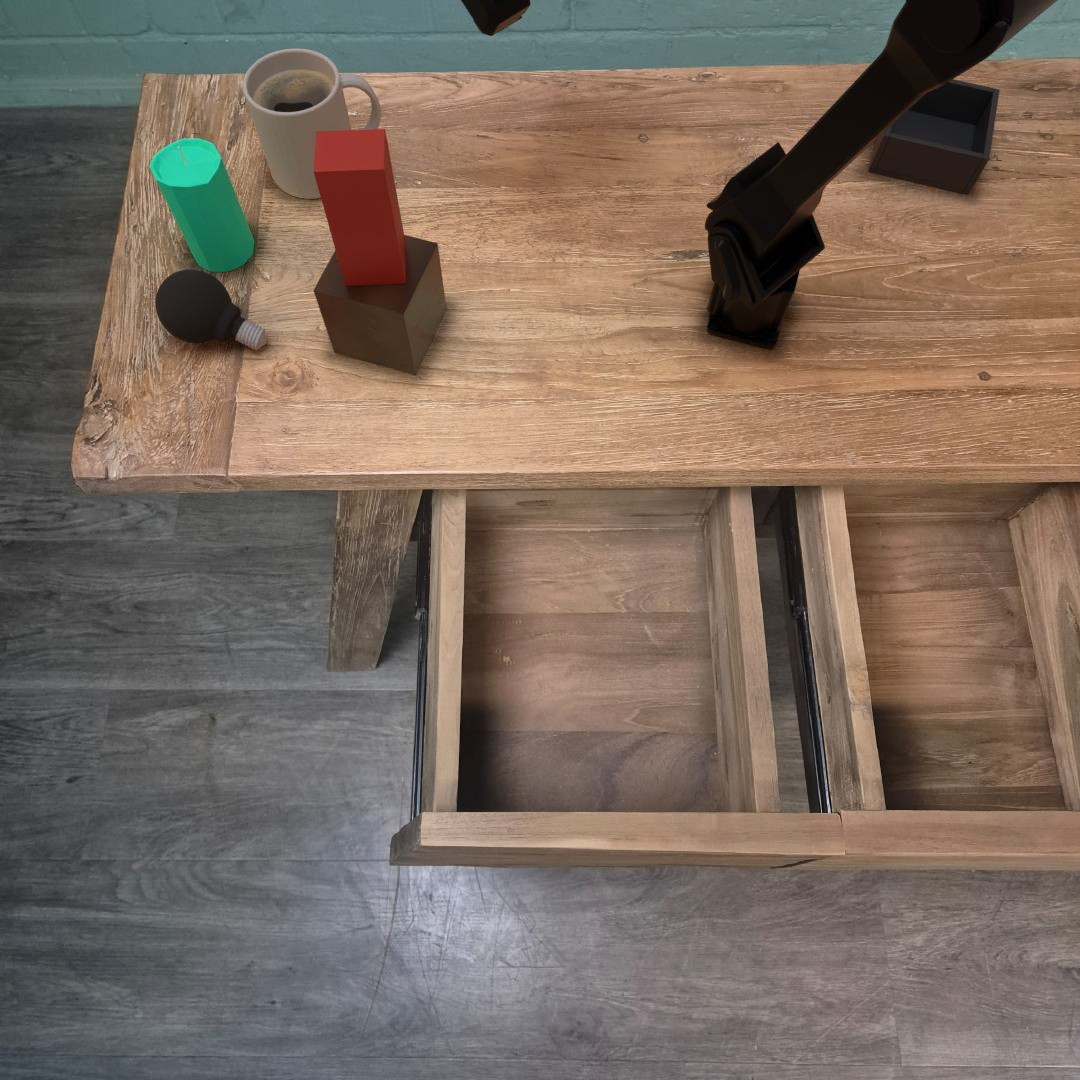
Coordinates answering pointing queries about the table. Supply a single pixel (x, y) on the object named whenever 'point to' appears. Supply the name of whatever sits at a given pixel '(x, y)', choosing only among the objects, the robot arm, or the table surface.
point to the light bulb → (203, 311)
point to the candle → (204, 203)
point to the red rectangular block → (361, 205)
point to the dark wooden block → (385, 311)
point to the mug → (299, 112)
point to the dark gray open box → (940, 138)
